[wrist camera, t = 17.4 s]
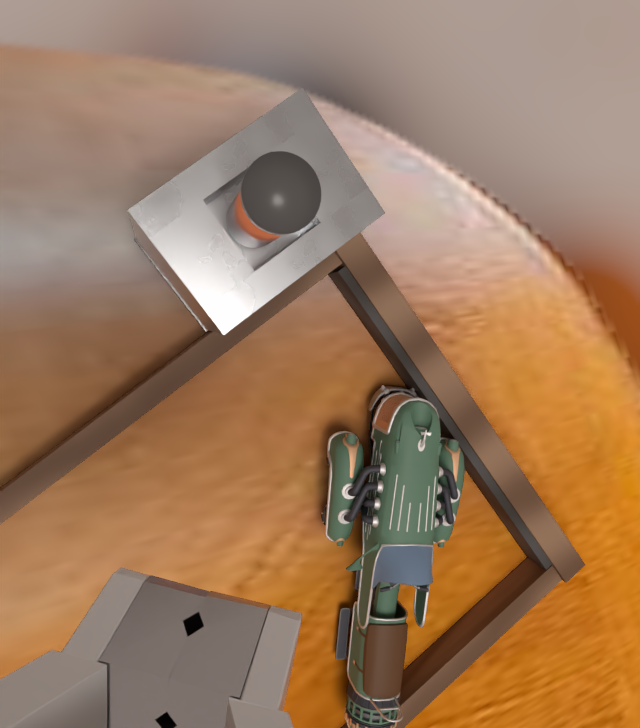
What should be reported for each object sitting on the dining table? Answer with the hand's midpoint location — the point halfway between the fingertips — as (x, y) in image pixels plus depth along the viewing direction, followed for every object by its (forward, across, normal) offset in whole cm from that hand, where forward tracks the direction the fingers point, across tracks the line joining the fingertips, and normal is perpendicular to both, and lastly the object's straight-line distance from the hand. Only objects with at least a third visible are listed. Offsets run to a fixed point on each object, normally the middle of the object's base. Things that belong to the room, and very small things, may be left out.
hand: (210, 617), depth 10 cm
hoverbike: (+28, -4, +23) cm, 37 cm away
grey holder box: (+32, +9, +3) cm, 33 cm away
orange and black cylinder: (+24, +6, 0) cm, 25 cm away
